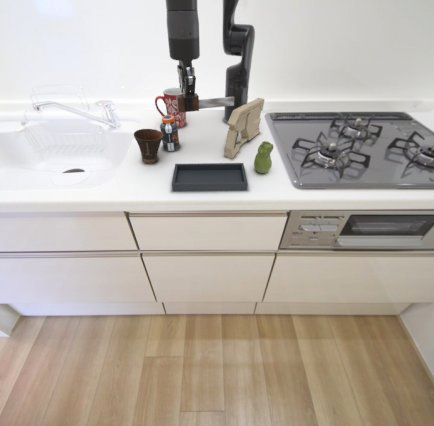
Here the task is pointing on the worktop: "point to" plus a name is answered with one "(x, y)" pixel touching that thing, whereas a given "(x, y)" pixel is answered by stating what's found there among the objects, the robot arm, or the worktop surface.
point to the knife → (203, 103)
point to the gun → (243, 125)
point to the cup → (148, 144)
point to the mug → (172, 105)
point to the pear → (263, 157)
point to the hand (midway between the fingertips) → (188, 108)
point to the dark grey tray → (209, 177)
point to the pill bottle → (169, 133)
